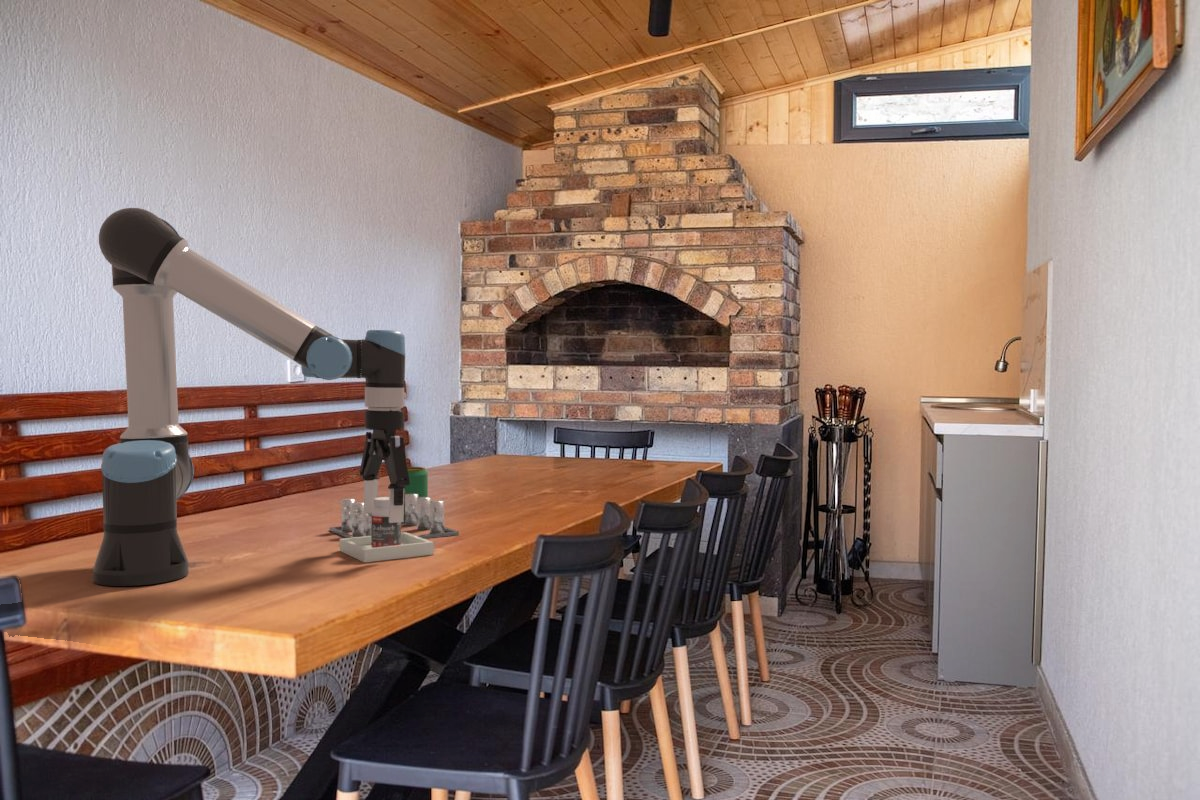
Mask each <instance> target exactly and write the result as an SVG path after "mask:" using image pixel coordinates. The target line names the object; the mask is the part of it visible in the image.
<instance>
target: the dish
mask: <svg viewBox="0 0 1200 800" xmlns="http://www.w3.org/2000/svg"><path fill="white" fill-rule="evenodd" d="M434 542H435V541H431V540H428V539H427V538H425V539H423V538H421V537H418V535H415V534H412V533H411V532H410V533H409V532H406V531H404V532H402V531H401V545H395V546H385V547H376V548H372V546H371V536H360V537H356V536H355V537H353V538H345V537H343V538H339V552H342V553H344V554H346V555H348V556H349V557H351V558H354V559H357V560H359V561H361V562H362V563H372V562H382V561H388V560H399V559H407V558H414V557H415V558H417V557H423V556H424V557H425V556H433V555H434V554H435V543H434Z"/></svg>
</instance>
